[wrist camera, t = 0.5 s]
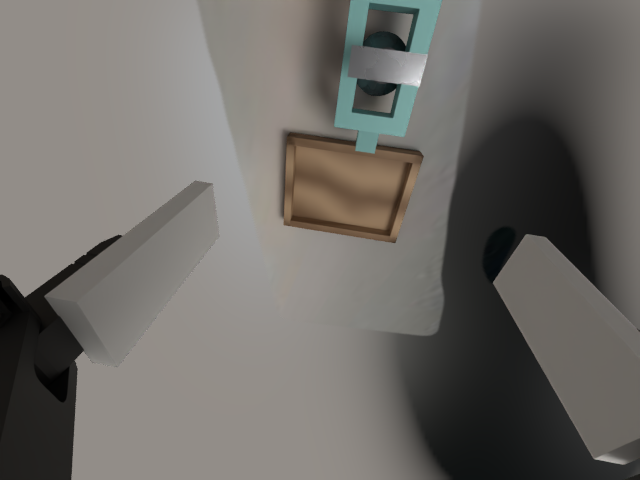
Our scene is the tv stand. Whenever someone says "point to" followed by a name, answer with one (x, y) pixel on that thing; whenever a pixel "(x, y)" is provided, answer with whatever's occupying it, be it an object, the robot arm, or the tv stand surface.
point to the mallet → (385, 64)
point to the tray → (347, 187)
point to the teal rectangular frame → (370, 123)
